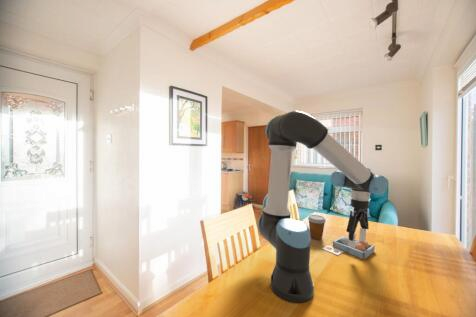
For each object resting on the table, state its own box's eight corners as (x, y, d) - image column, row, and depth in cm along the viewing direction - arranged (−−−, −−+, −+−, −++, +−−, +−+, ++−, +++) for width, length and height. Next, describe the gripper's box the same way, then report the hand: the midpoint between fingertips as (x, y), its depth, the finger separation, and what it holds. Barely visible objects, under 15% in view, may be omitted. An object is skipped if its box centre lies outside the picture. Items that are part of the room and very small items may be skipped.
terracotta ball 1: (362, 256, 95) (364, 245, 95) (351, 251, 99) (353, 241, 99) (366, 255, 98) (368, 245, 98) (355, 251, 102) (357, 241, 102)
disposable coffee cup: (327, 241, 111) (328, 220, 111) (310, 241, 111) (311, 219, 111) (321, 234, 121) (321, 214, 120) (305, 234, 121) (305, 214, 121)
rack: (364, 259, 93) (364, 253, 93) (332, 247, 105) (332, 241, 105) (374, 251, 101) (374, 245, 101) (344, 240, 113) (344, 235, 112)
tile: (337, 255, 96) (337, 254, 96) (322, 248, 103) (322, 247, 103) (343, 252, 100) (343, 251, 100) (328, 245, 106) (328, 244, 106)
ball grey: (348, 249, 102) (349, 240, 102) (339, 246, 106) (339, 236, 106) (353, 247, 105) (353, 237, 105) (343, 243, 109) (343, 234, 109)
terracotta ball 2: (365, 251, 98) (367, 241, 99) (354, 247, 102) (357, 237, 103) (369, 252, 101) (371, 242, 102) (358, 248, 105) (360, 239, 106)
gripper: (357, 203, 87) (354, 253, 87) (377, 199, 101) (375, 241, 101) (340, 199, 93) (337, 246, 93) (361, 196, 107) (359, 236, 107)
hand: (357, 244), depth 97 cm, fingers open, 12 cm apart
